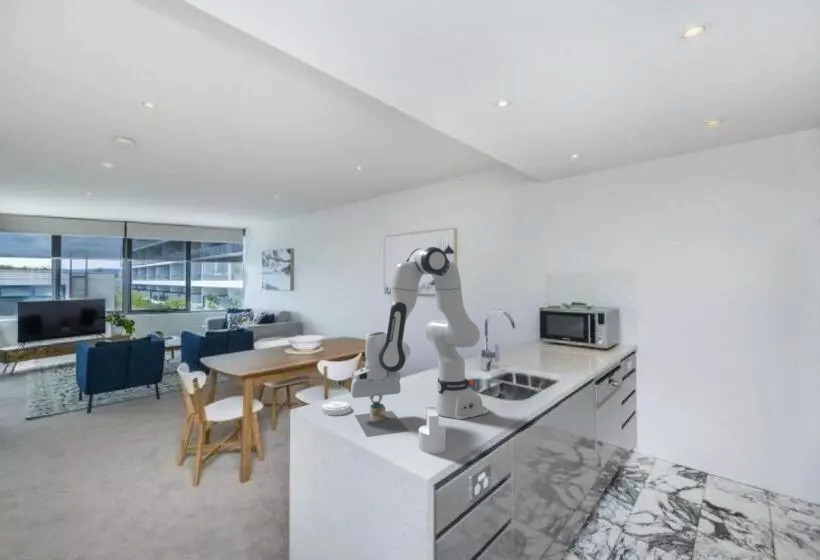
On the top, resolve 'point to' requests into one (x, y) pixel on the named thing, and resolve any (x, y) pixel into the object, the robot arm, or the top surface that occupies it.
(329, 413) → the white mooncake
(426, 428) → the white cylinder with post
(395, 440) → the top surface
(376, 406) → the maple block
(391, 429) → the rubber mat
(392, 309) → the robot arm
